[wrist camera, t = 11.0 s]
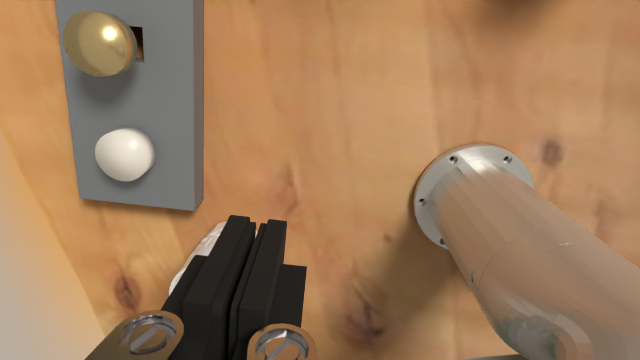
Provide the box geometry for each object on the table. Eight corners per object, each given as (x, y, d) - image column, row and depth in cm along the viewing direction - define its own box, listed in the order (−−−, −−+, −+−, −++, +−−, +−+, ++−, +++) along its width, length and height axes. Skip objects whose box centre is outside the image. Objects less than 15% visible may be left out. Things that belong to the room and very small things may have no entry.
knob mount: (204, -155, 31) (191, -173, 29) (203, 199, 43) (194, 211, 40) (57, -174, 31) (30, -194, 28) (96, 187, 43) (79, 198, 40)
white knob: (167, 123, 39) (145, 135, 35) (168, 166, 41) (148, 183, 36) (120, 117, 39) (92, 129, 35) (124, 161, 41) (97, 178, 36)
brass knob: (152, 17, 33) (123, 14, 29) (154, 73, 35) (127, 79, 30) (97, 11, 33) (58, 6, 29) (102, 67, 35) (67, 72, 30)
